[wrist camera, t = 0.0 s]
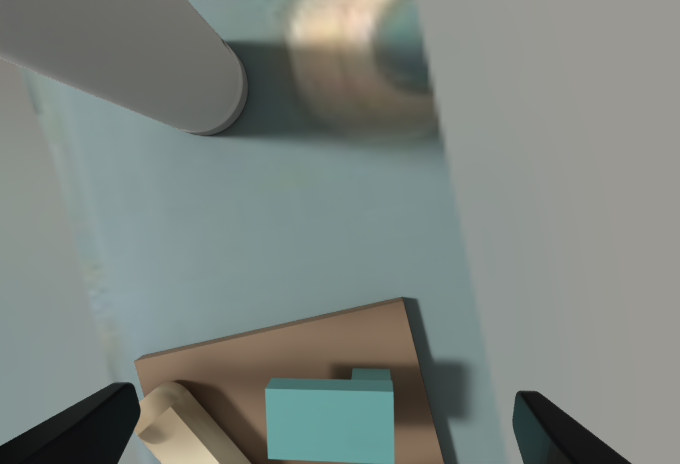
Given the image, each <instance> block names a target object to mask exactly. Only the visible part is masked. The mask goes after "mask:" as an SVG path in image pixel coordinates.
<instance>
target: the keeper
mask: <svg viewBox="0 0 680 464" xmlns="http://www.w3.org/2000/svg"><path fill="white" fill-rule="evenodd" d="M265 398H266V422H267V447H268V459H283V460H305V461H328V462H351V463H374V464H394V398H393V384H392V381H391V376H390V369H362V368H353V370H352V378H351V380H340V379H294V378H271V380H270V381H269V383H268V385H267V386H266V388H265Z"/></svg>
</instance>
